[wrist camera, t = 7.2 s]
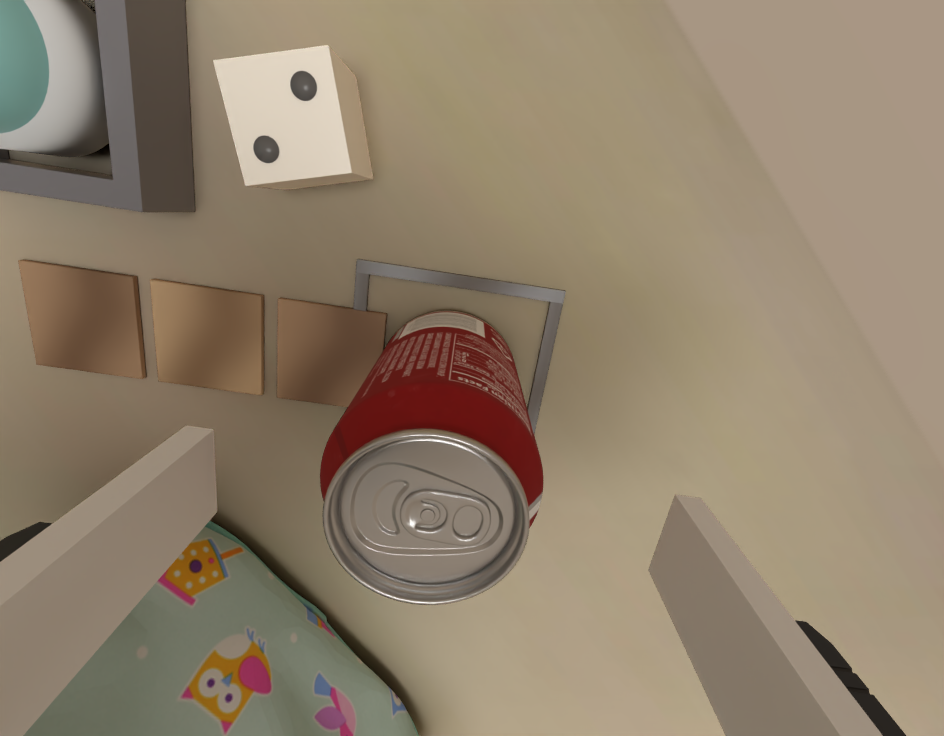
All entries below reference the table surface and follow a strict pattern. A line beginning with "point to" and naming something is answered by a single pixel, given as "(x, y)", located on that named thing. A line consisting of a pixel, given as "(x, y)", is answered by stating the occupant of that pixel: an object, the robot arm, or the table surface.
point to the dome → (51, 78)
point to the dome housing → (131, 117)
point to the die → (295, 118)
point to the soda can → (433, 465)
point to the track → (234, 331)
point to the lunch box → (224, 661)
